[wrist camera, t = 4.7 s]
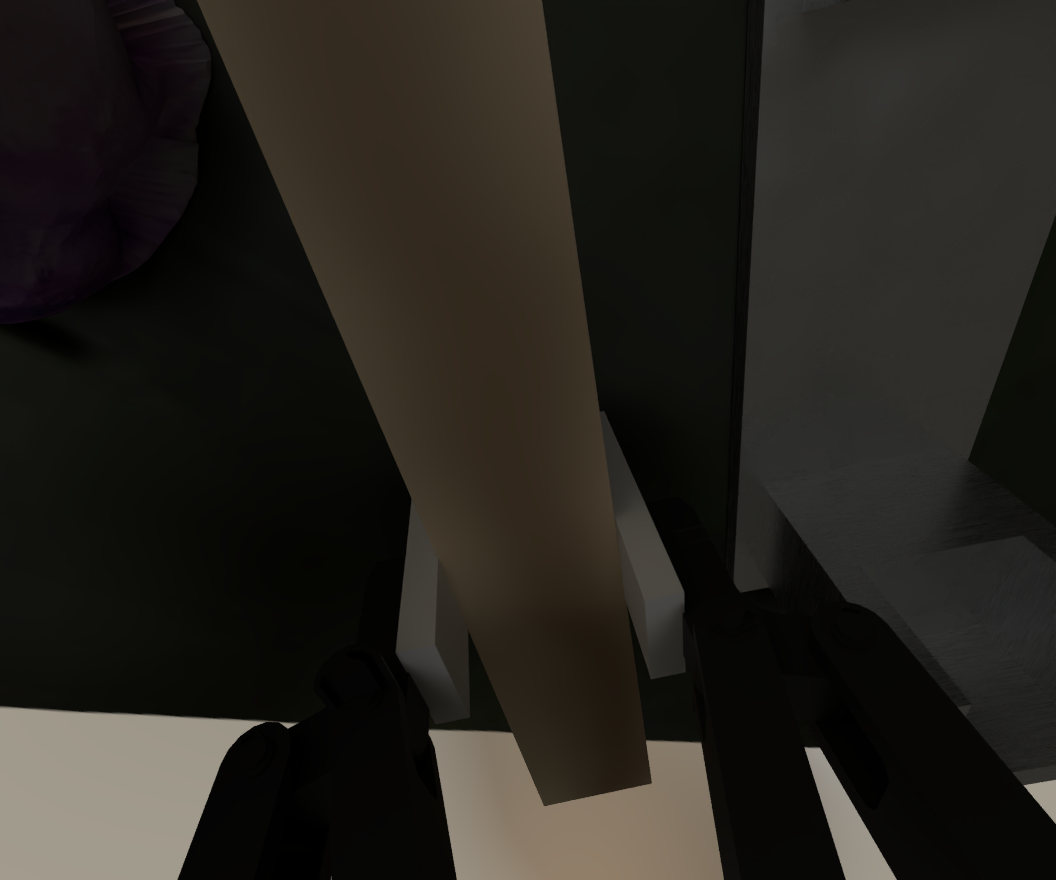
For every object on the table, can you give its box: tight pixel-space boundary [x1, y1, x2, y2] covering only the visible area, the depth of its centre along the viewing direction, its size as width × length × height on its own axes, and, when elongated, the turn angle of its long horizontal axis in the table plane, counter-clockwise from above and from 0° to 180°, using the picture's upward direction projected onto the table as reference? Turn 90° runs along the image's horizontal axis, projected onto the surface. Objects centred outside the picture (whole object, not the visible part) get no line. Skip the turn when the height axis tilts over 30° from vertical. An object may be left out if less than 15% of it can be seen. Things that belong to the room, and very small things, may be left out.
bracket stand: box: [726, 0, 1056, 785], centre depth 14 cm, size 10×30×11 cm, turn 11°
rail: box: [197, 0, 652, 806], centre depth 14 cm, size 4×24×5 cm, turn 11°
